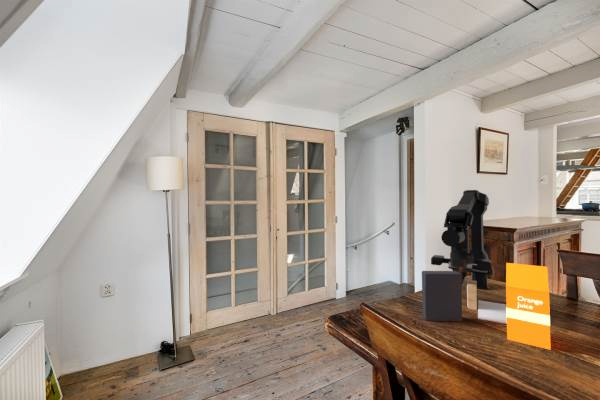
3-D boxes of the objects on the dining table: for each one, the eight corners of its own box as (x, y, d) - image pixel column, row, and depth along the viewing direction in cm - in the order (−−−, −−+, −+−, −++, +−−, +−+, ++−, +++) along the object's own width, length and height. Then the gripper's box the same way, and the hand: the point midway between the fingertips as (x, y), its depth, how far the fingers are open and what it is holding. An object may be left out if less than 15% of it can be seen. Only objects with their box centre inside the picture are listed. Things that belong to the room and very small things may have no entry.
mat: (478, 301, 102) (478, 300, 102) (534, 309, 94) (534, 308, 94) (477, 318, 87) (477, 317, 87) (544, 330, 78) (544, 329, 78)
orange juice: (508, 328, 80) (506, 260, 80) (549, 338, 74) (547, 264, 75) (506, 339, 74) (505, 265, 74) (551, 350, 68) (549, 270, 69)
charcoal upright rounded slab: (456, 316, 89) (455, 270, 89) (463, 322, 85) (462, 273, 85) (421, 315, 90) (420, 270, 90) (426, 321, 86) (425, 273, 86)
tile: (468, 301, 102) (467, 279, 102) (477, 302, 101) (476, 280, 101) (467, 308, 96) (466, 285, 96) (476, 310, 94) (476, 286, 94)
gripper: (428, 244, 99) (429, 287, 99) (491, 248, 88) (492, 296, 88) (432, 240, 108) (433, 280, 108) (490, 243, 98) (491, 287, 98)
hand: (460, 285), depth 100 cm, fingers closed
